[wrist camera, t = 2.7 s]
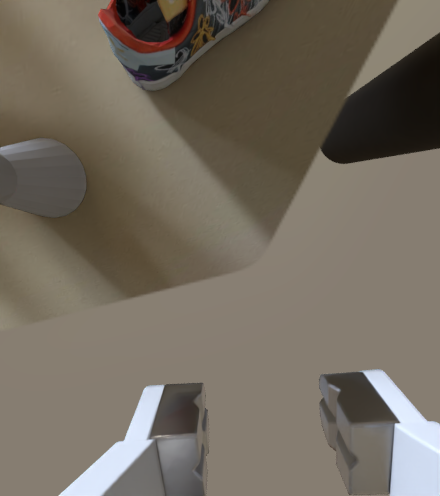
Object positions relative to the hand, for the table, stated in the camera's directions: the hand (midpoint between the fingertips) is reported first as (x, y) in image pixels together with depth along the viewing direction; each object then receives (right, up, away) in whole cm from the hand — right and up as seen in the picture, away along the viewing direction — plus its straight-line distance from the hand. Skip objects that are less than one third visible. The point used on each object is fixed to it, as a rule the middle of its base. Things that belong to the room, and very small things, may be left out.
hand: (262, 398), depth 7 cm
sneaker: (-2, +28, +19) cm, 34 cm away
